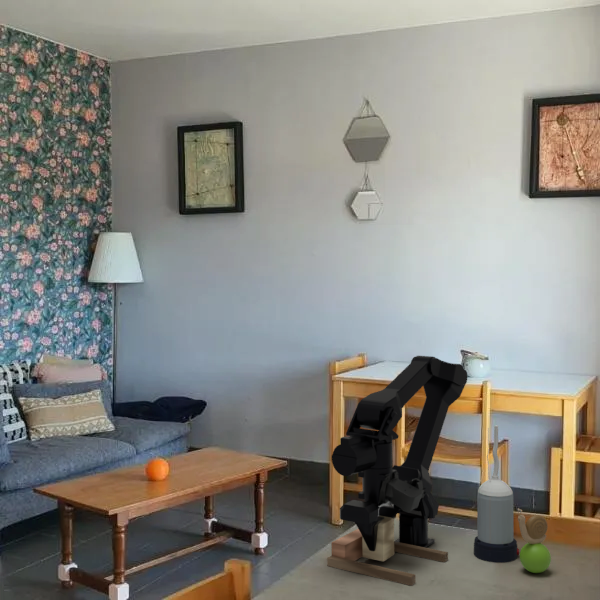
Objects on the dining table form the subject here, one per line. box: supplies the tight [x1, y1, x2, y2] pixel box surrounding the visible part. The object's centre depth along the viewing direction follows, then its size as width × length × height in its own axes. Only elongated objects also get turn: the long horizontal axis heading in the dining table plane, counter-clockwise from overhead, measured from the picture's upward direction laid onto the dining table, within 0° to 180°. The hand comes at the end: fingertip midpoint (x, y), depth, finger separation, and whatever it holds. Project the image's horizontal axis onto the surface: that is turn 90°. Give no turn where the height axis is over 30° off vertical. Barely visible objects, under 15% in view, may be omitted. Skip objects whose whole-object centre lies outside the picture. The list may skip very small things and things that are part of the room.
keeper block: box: [362, 516, 395, 562], centre depth 153 cm, size 4×4×7 cm
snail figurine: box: [516, 508, 552, 574], centre depth 146 cm, size 5×6×12 cm
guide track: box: [326, 528, 449, 586], centre depth 152 cm, size 15×18×4 cm
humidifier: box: [473, 425, 520, 564], centre depth 155 cm, size 8×8×25 cm
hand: (378, 547), depth 153 cm, fingers closed on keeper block, 4 cm apart
